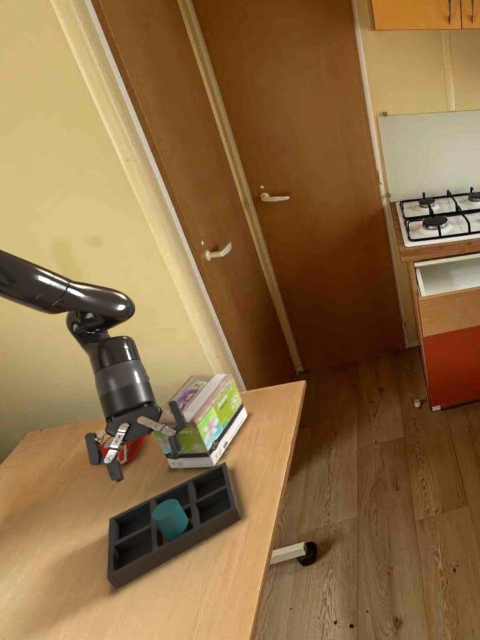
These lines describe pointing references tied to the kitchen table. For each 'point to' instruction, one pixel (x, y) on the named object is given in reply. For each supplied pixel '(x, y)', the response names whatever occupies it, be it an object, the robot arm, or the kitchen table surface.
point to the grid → (147, 539)
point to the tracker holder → (123, 454)
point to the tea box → (204, 420)
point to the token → (171, 519)
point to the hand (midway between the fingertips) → (149, 467)
